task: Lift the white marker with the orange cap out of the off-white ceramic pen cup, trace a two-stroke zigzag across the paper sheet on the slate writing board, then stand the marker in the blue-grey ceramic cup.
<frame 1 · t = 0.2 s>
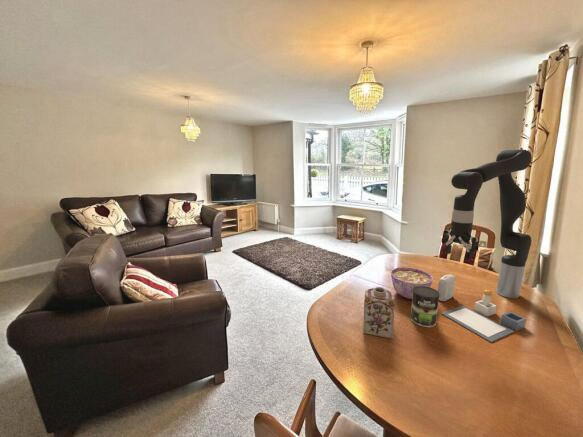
hand: (457, 256, 110), 28 cm above the table, fingers open, 8 cm apart
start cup: (484, 311, 118), on the table
decorative jar: (377, 328, 108), on the table
writing board: (475, 322, 110), on the table
marker: (484, 310, 118), point 1 cm above the table, touching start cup
coffee can: (423, 320, 113), on the table
bowl of food: (409, 295, 134), on the table
photo printer: (445, 298, 130), on the table
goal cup: (512, 325, 108), on the table
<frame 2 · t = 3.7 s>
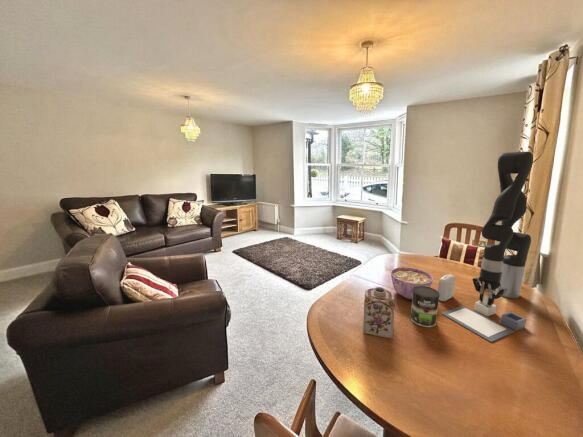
hand: (485, 302, 117), 4 cm above the table, fingers closed on marker, 2 cm apart
marker: (484, 310, 118), point 1 cm above the table, touching gripper
everything else where it was.
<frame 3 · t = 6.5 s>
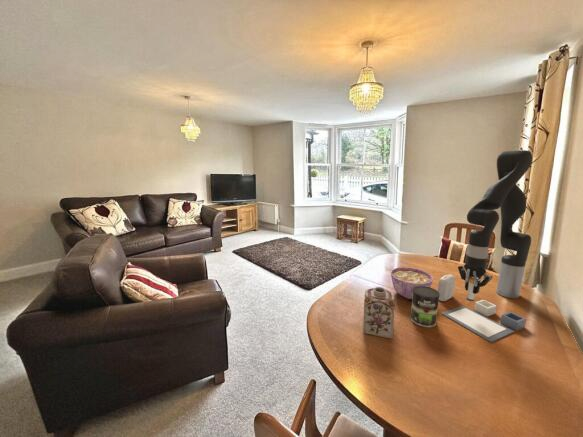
hand: (471, 291, 112), 12 cm above the table, fingers closed on marker, 2 cm apart
marker: (470, 299, 113), point 8 cm above the table, touching gripper
everything else where it was.
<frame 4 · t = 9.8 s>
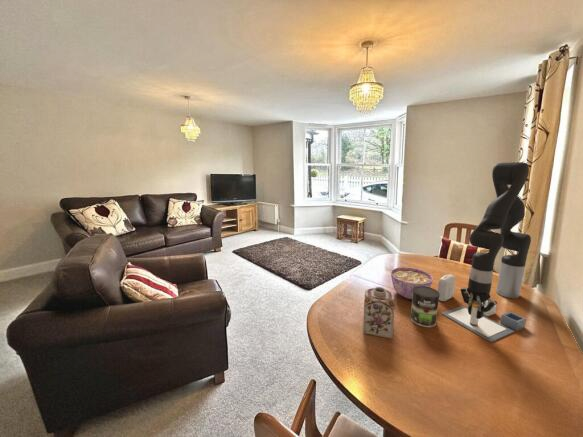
hand: (474, 315, 107), 5 cm above the table, fingers closed on marker, 2 cm apart
marker: (473, 324, 108), point 1 cm above the table, touching gripper
everything else where it was.
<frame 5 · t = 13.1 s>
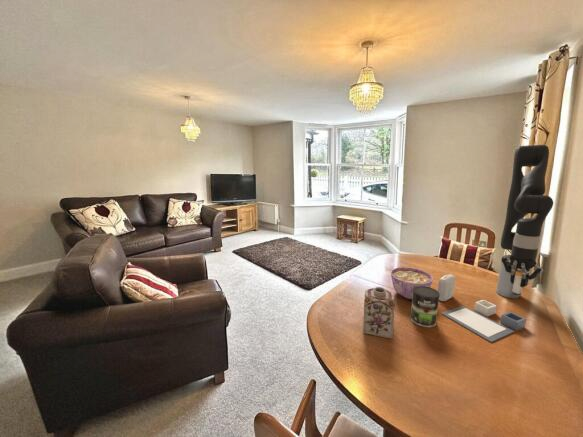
hand: (518, 284, 104), 19 cm above the table, fingers closed on marker, 2 cm apart
marker: (516, 293, 105), point 15 cm above the table, touching gripper
everything else where it was.
when the fingers open (6 cm above the table, at t = 16.1 s): marker stays where it is, resting on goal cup.
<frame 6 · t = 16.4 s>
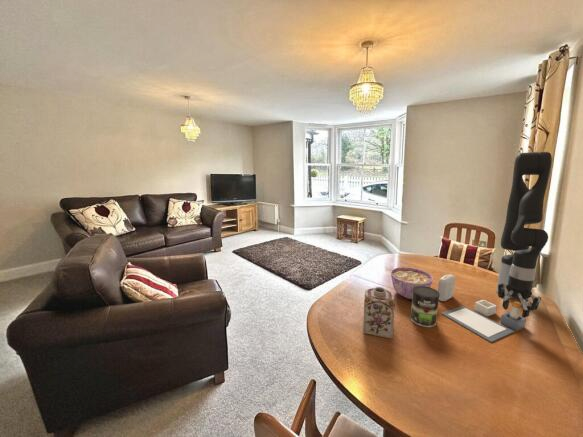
hand: (514, 312, 107), 6 cm above the table, fingers open, 6 cm apart
marker: (512, 324, 108), point 1 cm above the table, touching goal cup
everything else where it was.
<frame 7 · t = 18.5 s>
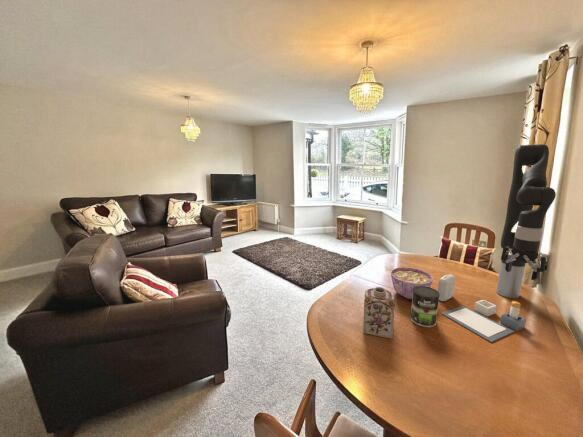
hand: (520, 275, 103), 23 cm above the table, fingers open, 8 cm apart
nothing on the table moved.
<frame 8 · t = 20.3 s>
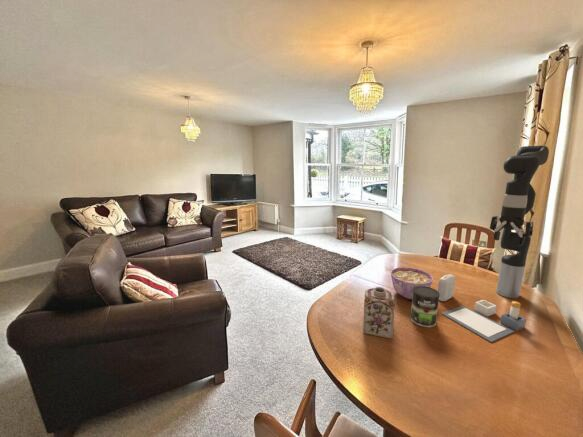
hand: (507, 242, 109), 34 cm above the table, fingers open, 8 cm apart
nothing on the table moved.
at the end: marker 0.1 cm off-centre on the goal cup, point 0.5 cm above the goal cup's base; marker tilted 0°; the gripper is holding nothing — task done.
